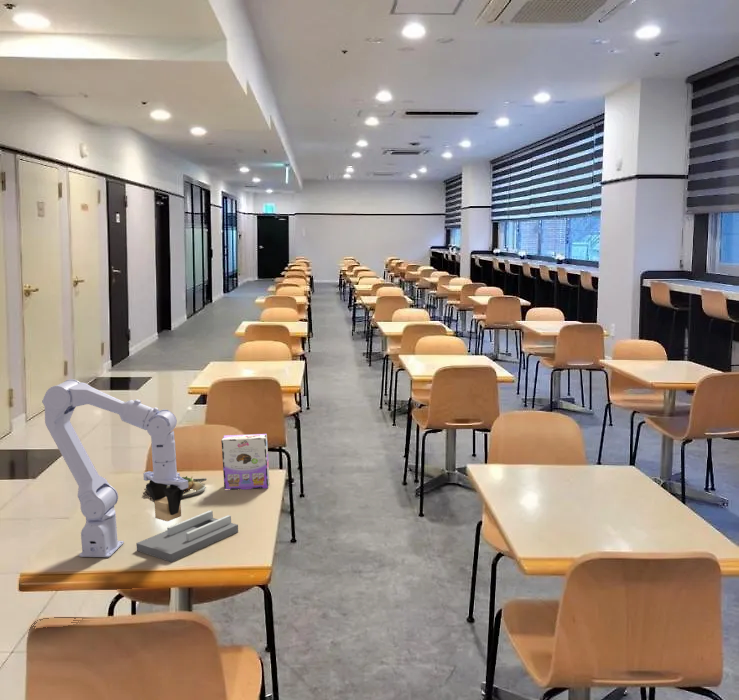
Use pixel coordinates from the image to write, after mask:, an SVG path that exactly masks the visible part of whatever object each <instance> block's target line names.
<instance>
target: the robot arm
mask: <svg viewBox="0 0 739 700" xmlns="http://www.w3.org/2000/svg"><path fill="white" fill-rule="evenodd" d="M141 402H142V400H140V399H138V398H137V399H134V400H133V399H130V400H127V401H123V400H121V399H119V398H117V397H114V396H112V395H111V394H108V393H106V392H104V391H101V390H99V389H97V388H95V387H93V386H91V385H90V384H88V383H87V382H82V381H81V382H80V381H79V380H77V379H74V378H72V379H71V378H70V379H66V380H65V381H64V382H61V383H59V384H56V385H52V386H50V387H49V388H48V389H47V390H46V392H45V394H44V396H43V398H42V402H41V403H42V405H43V406H44V424H45V426H46V428H47V430H48V432H49V434H50V435H51V438H52V439H53V441H54V442H55V445H56V447H57V449H58V450H59V452H60V454H61V456H62V458H63V460H64V462H65V463H66V466H67V467H68V469H69V471H70V473H71V475H72V477H73V478H74V480H75V482H76V484H77V485H78V489H77V499H78V501H79V502H80V503H79V504H80V512H81V514H82V515H83V516H84V517H85V524H84V526H83V528H82V529H81V532H80V539H81V550H82V551H81V552H80V553H79V554H78V556H79V557H80V558H83V557H84V558H110V557H112V555H114V553H115V552H116V551H117V550H118V549H119V548H121V546H122V545H123V544H124V543H125V541H124V540H118V529H117V528H118V527H117V516H116V515H117V513H116V512H117V511H116V509H115V506H116V505H117V503H118V500H119V494H118V491H117V489H116V488H115V487H114V486H112V485H111V484H110V483H109V482H108V480H107V478H105V477H104V476H102V475H100V474H99V473H98V471H97V469H96V468H95V466H94V464H93V462H92V459H91V458H90V456H89V454H88V453H87V450H86V449H85V447H84V444H83V443H82V441H81V439H80V437H79V435H78V434H77V432H76V430H75V428H74V426H73V424H72V422H71V418H72V415H73V413H74V411H75V409H76V407H82V406H85V405H90V406H93V407H96V408H99V409H102V410H105V411H108V412H110V413H113V414H117V415H118V416H119V418H120V419H121V421H122V422H124V423H126V424H129V425H132V426H134V427H135V428H136V427H137V428H139V429H142V430H144V431H146V432H147V433H148V435H150V440H151V458H152V459H151V461H152V471H150V470H148V471H146V472H143V480H144V481H146V482H147V481H149V482H150V484H147V483H146V485H145V489H146V488H147V490H148V491H149V493H150V494H151V496H152V498H151V499H152V500H153V503H154V505H155V502H154V501H155V500H158V499H161V498H164V497H165V494H166V497H167V500H168V505H169V512H170V515H174V514H176V513H178V511H179V506H180V502H181V501H182V499H183V498H182V496H183V495H184V494H183V493H185V492H184V491H185V490H186V488H188V480H185V479H183V478H182V477H183V476H181V475H180V472H178V471H177V455H176V441H175V429H176V427H177V418H176V415H175V414H174V412H172V411H170V410H169V409H165V408H164V409H161V410H159V407H156V406H155V407H152V406H149V405H147V404H143V403H141ZM167 485H170V487H169V488H166V487H167ZM181 498H182V499H181Z"/></svg>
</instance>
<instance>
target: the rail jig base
mask: <svg viewBox="0 0 739 700" xmlns="http://www.w3.org/2000/svg"><path fill="white" fill-rule="evenodd" d="M213 511H214V510H210V509H209V510H207V511H205V512H202V513H200V514H197V515H195V516H193V517H190V518H187V519H185V520H182V521H180V522H178V523H175V524H173V525H170V526H167V527H166V530H165V531H163V532H161V533H158V534H156V535H152V536H150V537H148V538H146V539H143V540H140V541H138V542H136V545H135V546H136V551H137V552H140V553H143V554H146V555H149V556H152V557H155V558H158V559H160V560H165V561H167V562H170V563H172V562H175V561H177V560H179V559H181V558H183V557H186V556H187V555H190V554H192V553H194V552H196V550H197V551H199V550H202V549H203V547H204V548H205V546H206V547H208V546H210V545H212V544H214V542H215V543H216V541H217V542H219V541H221V540H223V539H226V538H228V537H230V536H232V535H235V534H237V533H238V532H239V524H236V523H234V522H232V515H229V514H227V515H226V516H221V517H220V518H214V514H213ZM209 544H210V545H209ZM207 545H208V546H207ZM198 549H199V550H198Z"/></svg>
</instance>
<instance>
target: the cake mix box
mask: <svg viewBox="0 0 739 700" xmlns="http://www.w3.org/2000/svg"><path fill="white" fill-rule="evenodd" d="M220 442H221V456H222V470H223V490H224V489H230V490H229V491H235V490H236V491H240V489H242V490H259V489H261V490H265V489H269V486H270V468H269V467H270V466H269V462H270V461H269V451H268V450H269V449H268V448H269V447H268V446H269V445H268V435H267V433H252V434H227V435H226V434H223V437H222V439H221V441H220ZM238 489H239V490H238Z"/></svg>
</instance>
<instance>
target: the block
mask: <svg viewBox="0 0 739 700" xmlns="http://www.w3.org/2000/svg"><path fill="white" fill-rule="evenodd" d="M154 502H155V504H154V514H155V515H154V517H155V519H157V520H162V521H165V522H169V521H172V520H175V519H177V518H180V517H182V505H181V502H180V506H179V511H178V513H176V514H174V515H170V512H169V505H168V500H167V497H164V498H161V499H158V500H155V501H153V503H154Z"/></svg>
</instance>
